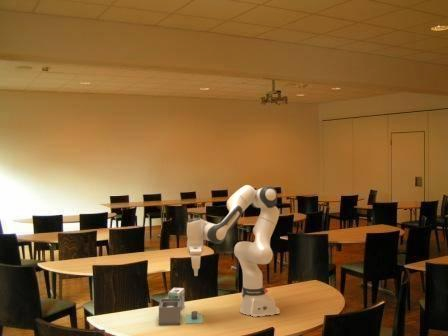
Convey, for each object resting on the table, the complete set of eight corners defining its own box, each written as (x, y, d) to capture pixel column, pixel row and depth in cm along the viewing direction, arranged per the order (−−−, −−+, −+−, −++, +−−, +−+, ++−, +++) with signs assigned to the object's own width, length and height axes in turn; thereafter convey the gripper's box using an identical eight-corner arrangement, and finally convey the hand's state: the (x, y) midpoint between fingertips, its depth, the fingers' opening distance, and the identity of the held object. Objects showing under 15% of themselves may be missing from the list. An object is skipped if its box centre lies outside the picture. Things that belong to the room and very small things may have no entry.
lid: (202, 316, 251) (202, 307, 250) (203, 324, 237) (203, 315, 237) (186, 316, 250) (186, 308, 250) (185, 325, 237) (185, 316, 237)
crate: (180, 315, 250) (180, 298, 250) (180, 324, 236) (180, 307, 235) (160, 315, 250) (160, 298, 250) (158, 325, 235) (158, 307, 235)
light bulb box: (179, 312, 256) (179, 293, 256) (167, 311, 257) (168, 292, 257) (184, 306, 266) (184, 287, 266) (173, 305, 268) (173, 287, 268)
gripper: (189, 244, 257) (189, 268, 257) (189, 252, 236) (190, 278, 237) (200, 244, 257) (200, 268, 258) (201, 251, 237) (202, 278, 237)
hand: (195, 273), depth 247 cm, fingers open, 8 cm apart
